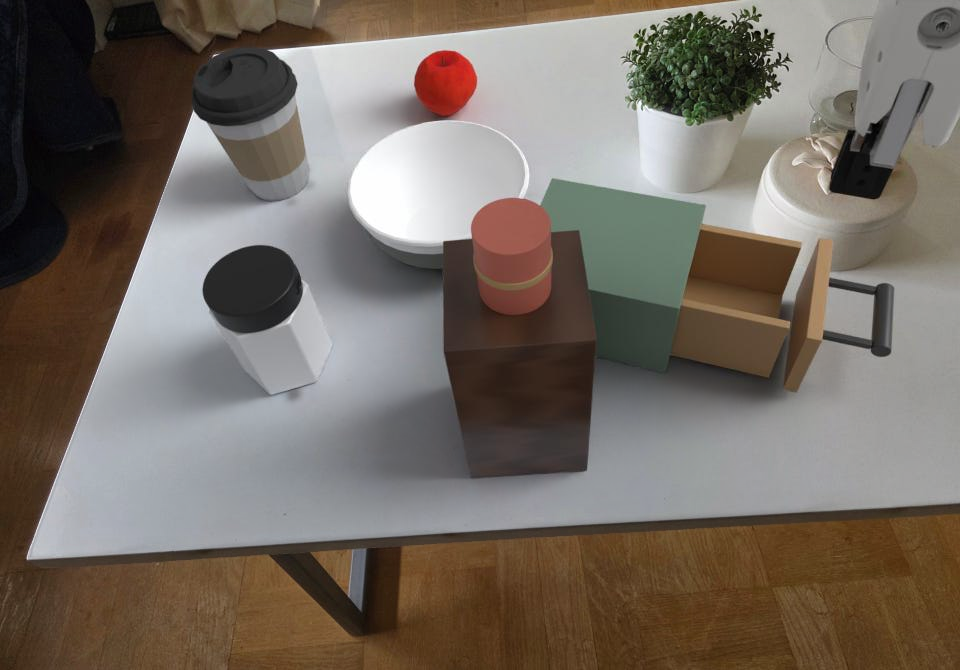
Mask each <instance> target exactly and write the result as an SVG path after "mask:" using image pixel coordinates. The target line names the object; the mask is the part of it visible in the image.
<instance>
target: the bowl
mask: <svg viewBox="0 0 960 670" xmlns="http://www.w3.org/2000/svg"><path fill="white" fill-rule="evenodd" d="M529 169H530V168H529V163H528V161H527V159H526V157H525V155H524V152H523V151H522V150H521V149H520V147H518V145H517V144H516V142H514V141H513V140H512V139H511V138H510V137H508V136H507V135H505V134H504V133H502V132H501V131H499V130H496V129H494V128H492V127H490V126H487V125H484V124H480V123H478V122H471V121H466V120H465V121H464V120H447V119H445V120H433V121H427V122H422V123H417V124H414V125H410V126H406V127H404V128H402V129H398V130H396V131H394V132H392V133H390V134H389V135H386V136H384V137H383V138H381V139H380V140H378V141H377V142H376V143H374V144H373V145H371V146H370V147H369V148H368V149H367V150H366V151H365V152H364V153H363V154H362V155H361V156H360V157H359V159H358V160H357V162H356V164H355V165H354V167H353V168H352V170H351V172H350V175H349V178H348V181H347V188H346V199H347V203H348V207H349V210H350V211H351V212H352V215H353V216H354V218H355V219H356V221H357V222H359V223H360V224H361V226H362V227H363V229H364V230H365V232H366V234H367V236H368V237H369V239H370V241H372V243H373V244H374V245H375V246H376V247H377V248H378V249H380V250H381V251H383V252H384V253H386V254H387V255H389V256H390V257H391V258H392V259H395V260H396V261H398V262H400V263H403V264H406V265H408V266H412V267H416V268H422V269H433V270H435V269H436V270H443V241H451V240H463V239H472V234H471V224H472V221H473V218H474V216H475V215H476V213H477V212H478V211H479V210H480V209H481V208H483V207H484V206H485V205H487V204H489V203H491V202H493V201H496V200H499V199H504V198H522V199H525V196H526V194H527V191H528V188H529V183H530V170H529Z"/></svg>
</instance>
